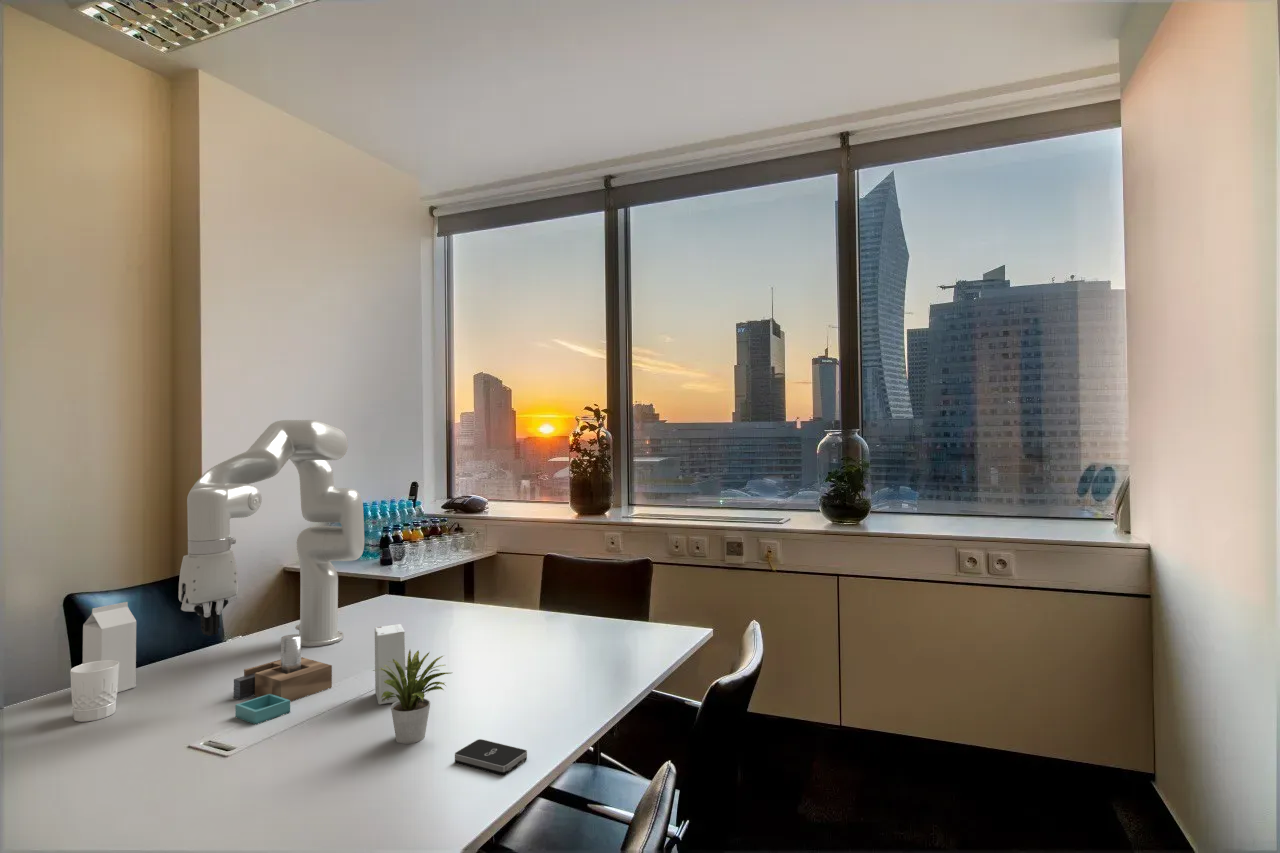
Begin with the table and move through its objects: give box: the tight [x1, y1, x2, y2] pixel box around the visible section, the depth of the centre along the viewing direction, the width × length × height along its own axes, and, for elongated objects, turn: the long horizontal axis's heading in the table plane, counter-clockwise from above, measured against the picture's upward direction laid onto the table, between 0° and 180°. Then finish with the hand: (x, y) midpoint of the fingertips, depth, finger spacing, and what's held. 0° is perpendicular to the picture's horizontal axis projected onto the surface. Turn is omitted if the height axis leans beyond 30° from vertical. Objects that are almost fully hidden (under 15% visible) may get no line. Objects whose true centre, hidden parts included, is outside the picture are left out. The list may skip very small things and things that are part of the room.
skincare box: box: [374, 623, 407, 705], centre depth 153 cm, size 8×6×15 cm
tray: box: [234, 694, 291, 725], centre depth 143 cm, size 7×7×2 cm
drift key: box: [233, 673, 255, 701], centre depth 155 cm, size 2×8×4 cm, turn 148°
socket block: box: [243, 656, 333, 702], centre depth 157 cm, size 14×12×5 cm
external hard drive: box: [454, 738, 528, 777], centre depth 122 cm, size 7×11×2 cm, turn 64°
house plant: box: [372, 649, 452, 745], centre depth 131 cm, size 14×14×16 cm
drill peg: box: [280, 633, 302, 674], centre depth 156 cm, size 4×4×12 cm
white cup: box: [70, 660, 119, 723], centre depth 143 cm, size 8×8×10 cm
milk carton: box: [82, 601, 137, 693], centre depth 157 cm, size 7×7×19 cm
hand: (210, 633), depth 147 cm, fingers closed
